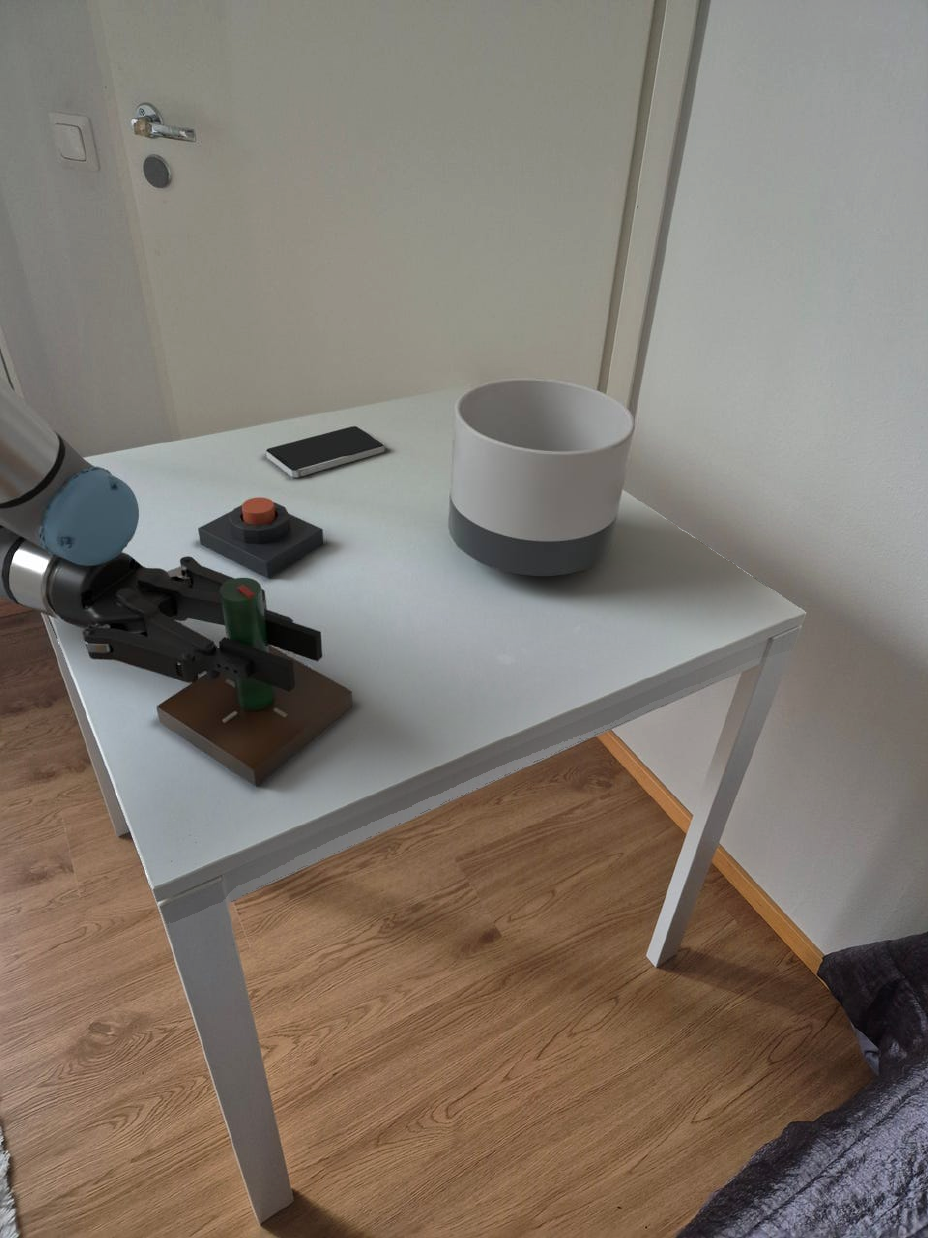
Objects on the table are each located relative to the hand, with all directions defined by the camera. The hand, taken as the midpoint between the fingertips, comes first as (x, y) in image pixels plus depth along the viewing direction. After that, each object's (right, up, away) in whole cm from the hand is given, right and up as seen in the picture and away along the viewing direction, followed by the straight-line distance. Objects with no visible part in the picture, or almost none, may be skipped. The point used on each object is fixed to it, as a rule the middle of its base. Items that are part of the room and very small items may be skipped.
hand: (305, 661), depth 65 cm
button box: (-11, +12, +29) cm, 33 cm away
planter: (+21, +11, +31) cm, 39 cm away
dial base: (-6, -5, +7) cm, 10 cm away
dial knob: (-6, -4, +6) cm, 9 cm away
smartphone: (-6, +27, +48) cm, 55 cm away
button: (-11, +15, +27) cm, 32 cm away
